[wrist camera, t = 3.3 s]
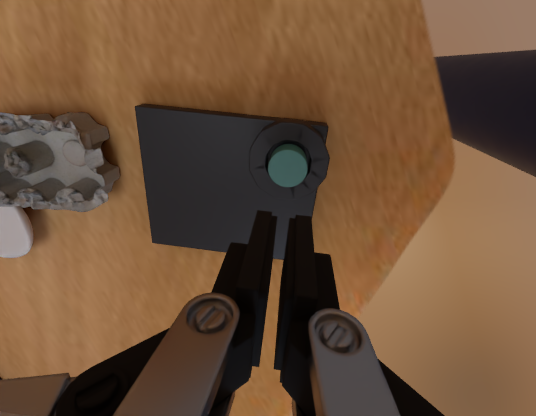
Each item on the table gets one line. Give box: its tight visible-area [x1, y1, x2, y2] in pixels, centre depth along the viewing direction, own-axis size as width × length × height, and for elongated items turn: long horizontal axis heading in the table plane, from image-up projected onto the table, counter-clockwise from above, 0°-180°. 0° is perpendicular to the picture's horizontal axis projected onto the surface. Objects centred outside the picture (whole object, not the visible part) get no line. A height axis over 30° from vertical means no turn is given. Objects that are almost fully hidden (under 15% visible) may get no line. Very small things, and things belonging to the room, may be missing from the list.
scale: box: [135, 104, 330, 260], centre depth 22 cm, size 14×12×3 cm
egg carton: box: [0, 112, 120, 212], centre depth 22 cm, size 11×8×4 cm
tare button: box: [268, 144, 308, 187], centre depth 19 cm, size 3×3×2 cm
